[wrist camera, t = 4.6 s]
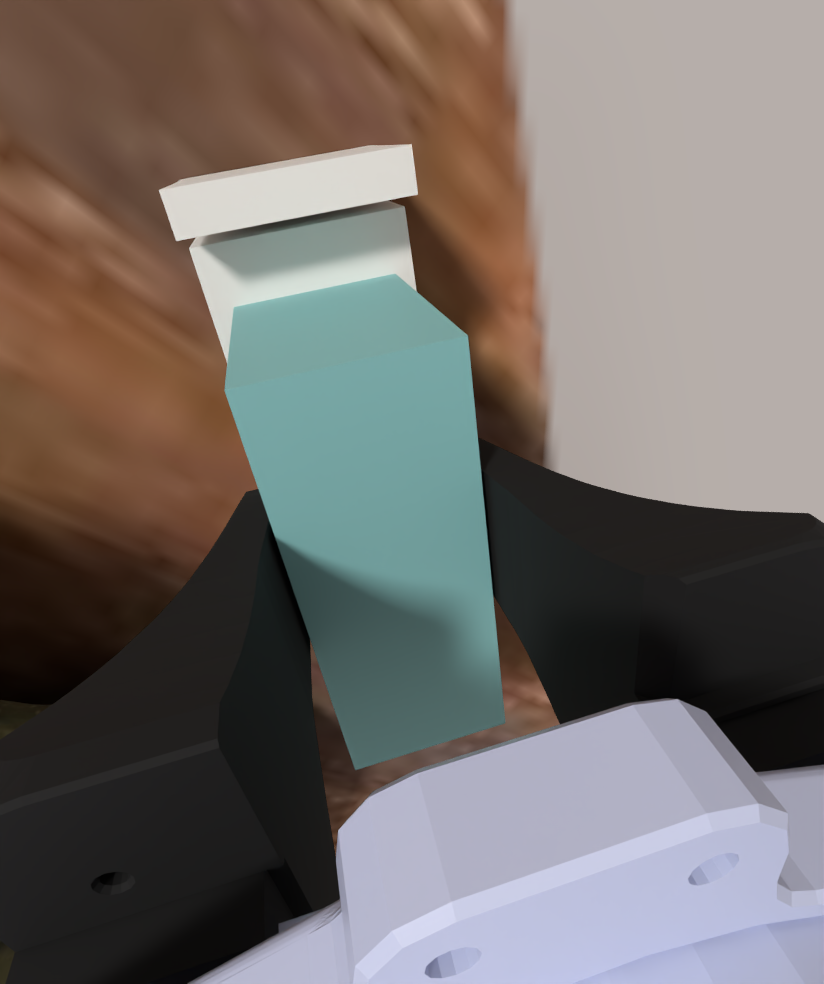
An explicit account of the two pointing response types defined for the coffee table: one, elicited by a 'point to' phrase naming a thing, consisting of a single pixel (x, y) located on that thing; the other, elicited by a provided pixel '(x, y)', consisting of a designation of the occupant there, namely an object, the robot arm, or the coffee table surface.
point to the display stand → (295, 226)
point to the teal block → (375, 504)
